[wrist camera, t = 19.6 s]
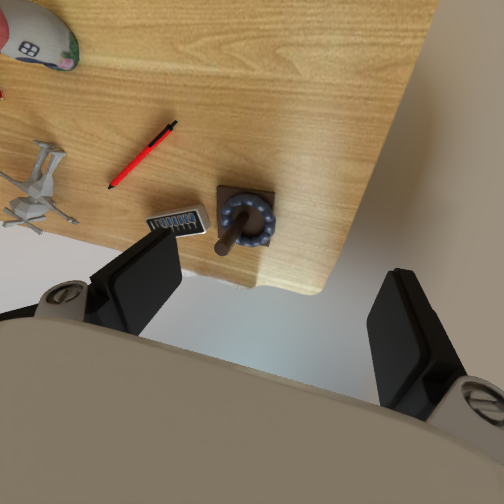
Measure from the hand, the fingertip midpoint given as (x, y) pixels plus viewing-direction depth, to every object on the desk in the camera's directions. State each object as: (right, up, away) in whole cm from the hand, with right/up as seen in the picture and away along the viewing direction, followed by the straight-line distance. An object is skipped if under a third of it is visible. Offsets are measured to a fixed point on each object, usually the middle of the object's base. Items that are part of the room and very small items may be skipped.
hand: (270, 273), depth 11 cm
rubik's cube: (-43, +29, +27) cm, 59 cm away
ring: (-2, +6, +27) cm, 27 cm away
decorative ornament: (-28, +30, +22) cm, 46 cm away
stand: (-2, +7, +28) cm, 29 cm away
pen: (-19, +16, +28) cm, 37 cm away
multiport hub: (-14, +7, +32) cm, 36 cm away
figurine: (-39, +14, +35) cm, 54 cm away
